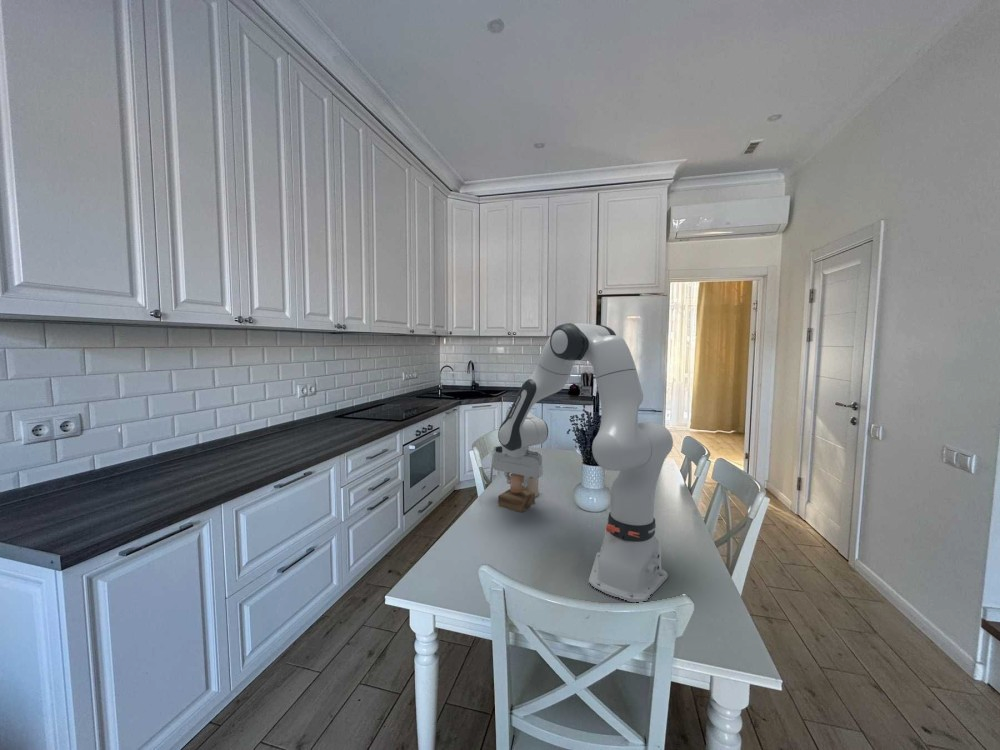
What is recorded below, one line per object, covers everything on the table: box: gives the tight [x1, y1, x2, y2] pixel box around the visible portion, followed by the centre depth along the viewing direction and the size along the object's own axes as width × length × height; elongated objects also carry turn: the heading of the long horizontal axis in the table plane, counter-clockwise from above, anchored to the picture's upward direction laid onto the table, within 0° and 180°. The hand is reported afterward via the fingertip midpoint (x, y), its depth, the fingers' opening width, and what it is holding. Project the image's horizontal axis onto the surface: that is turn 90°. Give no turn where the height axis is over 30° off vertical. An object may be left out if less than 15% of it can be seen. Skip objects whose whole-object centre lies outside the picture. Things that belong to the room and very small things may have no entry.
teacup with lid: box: [524, 477, 539, 498], centre depth 158 cm, size 12×9×12 cm
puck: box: [509, 473, 524, 493], centre depth 147 cm, size 5×5×6 cm
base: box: [497, 488, 536, 513], centre depth 148 cm, size 10×10×4 cm
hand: (516, 485), depth 147 cm, fingers closed on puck, 5 cm apart
